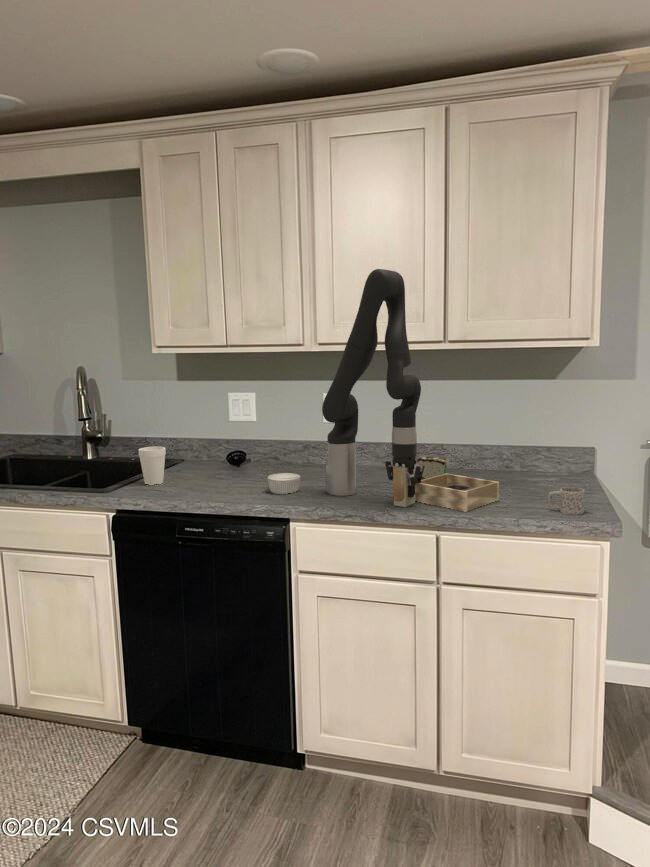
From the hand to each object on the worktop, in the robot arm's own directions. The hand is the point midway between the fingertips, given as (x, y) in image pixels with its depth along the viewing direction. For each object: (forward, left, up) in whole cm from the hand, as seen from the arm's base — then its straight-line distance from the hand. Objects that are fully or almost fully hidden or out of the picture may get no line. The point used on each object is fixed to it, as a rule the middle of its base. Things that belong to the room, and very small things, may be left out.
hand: (404, 495), depth 207 cm
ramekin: (-42, -13, -3) cm, 44 cm away
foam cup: (-87, -37, -3) cm, 95 cm away
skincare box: (0, 0, -3) cm, 3 cm away
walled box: (+9, +14, -3) cm, 17 cm away
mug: (+40, +25, -3) cm, 47 cm away
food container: (-9, +28, -3) cm, 30 cm away
